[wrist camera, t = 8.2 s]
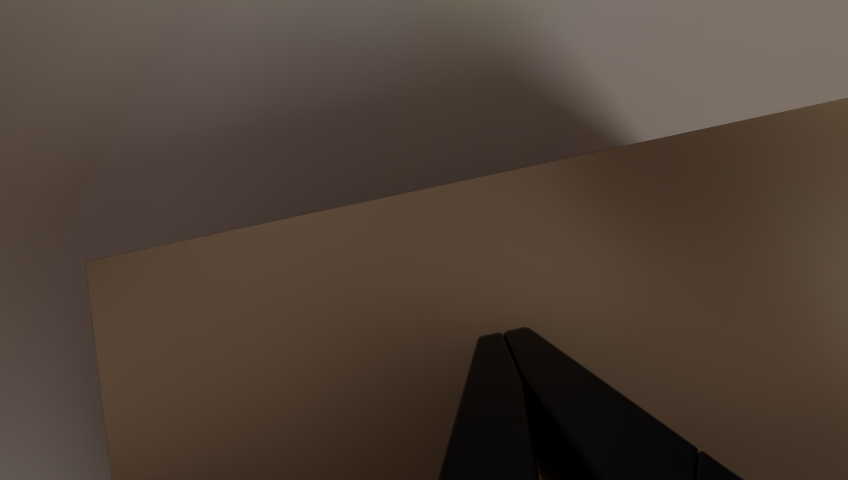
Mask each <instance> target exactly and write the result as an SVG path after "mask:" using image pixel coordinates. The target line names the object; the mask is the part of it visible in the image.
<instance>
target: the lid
mask: <svg viewBox="0 0 848 480" xmlns="http://www.w3.org/2000/svg"><path fill="white" fill-rule="evenodd" d="M85 266H86V274H87V283H88V291H89V299H90V307H91V316H92V324H93V332H94V340H95V348H96V357H97V365H98V373H99V381H100V390H101V398H102V406H103V414H104V423H105V431H106V439H107V447H108V455H109V464H110V472H111V480H437V479H438V476H439V472H440V469H441V465H442V462H443V458H444V455H445V451H446V448H447V444H448V441H449V437H450V434H451V430H452V427H453V423H454V420H455V416H456V413H457V409H458V406H459V402H460V399H461V395H462V392H463V388H464V385H465V381H466V378H467V374H468V371H469V367H470V364H471V360H472V357H473V353H474V350H475V346H476V343H477V340H478V338H479V337H480V336H483V335H488V334H493V333H497V332H500V333H502V334H503V335H504V333H505V332H506V331H507V330H512V329H516V328H521V327H528V328H530V329H532V330H533V331H535V332H536V333H537V334H539V335H540V336H542V337H543V338H544V339H546V340H547V341H549V342H550V343H551V344H553V345H554V346H556V347H557V348H558V349H560V350H561V351H563V352H564V353H565V354H567V355H568V356H570V357H571V358H572V359H574V360H575V361H577V362H578V363H579V364H581V365H582V366H584V367H585V368H586V369H588V370H589V371H591V372H592V373H593V374H595V375H596V376H598V377H599V378H600V379H602V380H603V381H605V382H606V383H607V384H609V385H610V386H612V387H613V388H614V389H616V390H617V391H619V392H620V393H622V394H623V395H624V396H626V397H627V398H629V399H630V400H631V401H633V402H634V403H636V404H637V405H638V406H640V407H641V408H643V409H644V410H645V411H647V412H648V413H650V414H651V415H652V416H654V417H655V418H657V419H658V420H659V421H661V422H662V423H664V424H665V425H666V426H668V427H669V428H671V429H672V430H673V431H675V432H676V433H678V434H679V435H680V436H682V437H683V438H685V439H686V440H687V441H689V442H690V443H692V444H693V445H694V446H696V447H697V448H698V453H699V452H700V451H704V452H706V453H707V454H708V455H710V456H711V457H713V458H714V459H715V460H717V461H718V462H720V463H721V464H722V465H724V466H725V467H727V468H728V469H729V470H731V471H732V472H734V473H735V474H737V475H738V476H740V477H741V478H743V479H744V480H848V98H845V99H841V100H836V101H831V102H827V103H822V104H817V105H813V106H808V107H803V108H799V109H794V110H789V111H785V112H780V113H775V114H771V115H766V116H761V117H757V118H752V119H747V120H743V121H738V122H733V123H729V124H724V125H719V126H715V127H710V128H706V129H701V130H696V131H692V132H687V133H682V134H678V135H673V136H668V137H664V138H659V139H654V140H650V141H645V142H640V143H636V144H631V145H626V146H622V147H617V148H612V149H608V150H603V151H598V152H594V153H589V154H584V155H580V156H575V157H571V158H566V159H561V160H557V161H552V162H547V163H543V164H538V165H533V166H529V167H524V168H519V169H515V170H510V171H505V172H501V173H496V174H491V175H487V176H482V177H477V178H473V179H468V180H463V181H459V182H454V183H450V184H445V185H440V186H436V187H431V188H426V189H422V190H417V191H412V192H408V193H403V194H398V195H394V196H389V197H384V198H380V199H375V200H370V201H366V202H361V203H356V204H352V205H347V206H342V207H338V208H333V209H329V210H324V211H319V212H315V213H310V214H305V215H301V216H296V217H291V218H287V219H282V220H277V221H273V222H268V223H263V224H259V225H254V226H249V227H245V228H240V229H235V230H231V231H226V232H221V233H217V234H212V235H207V236H203V237H198V238H194V239H189V240H184V241H180V242H175V243H170V244H166V245H161V246H156V247H152V248H147V249H142V250H138V251H133V252H128V253H124V254H119V255H114V256H110V257H105V258H100V259H96V260H91V261H86V262H85ZM538 475H539V480H542V477H541V475H540V473H539V470H538Z"/></svg>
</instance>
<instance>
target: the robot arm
mask: <svg viewBox="0 0 848 480" xmlns="http://www.w3.org/2000/svg"><path fill="white" fill-rule="evenodd" d="M538 470H539V473H540V475H541V477H542V480H744V479H743V478H741V477H740V476H738V475H737V474H735V473H734V472H732V471H731V470H729V469H728V468H727V467H725V466H724V465H722V464H721V463H720V462H718V461H717V460H715V459H714V458H713V457H711V456H710V455H708V454H707V453H706V452H704V451H700V452H699V453H698V448H697V447H696V446H694V445H693V444H692V443H690V442H689V441H687V440H686V439H685V438H683V437H682V436H680V435H679V434H678V433H676V432H675V431H673V430H672V429H671V428H669V427H668V426H666V425H665V424H664V423H662V422H661V421H659V420H658V419H657V418H655V417H654V416H652V415H651V414H650V413H648V412H647V411H645V410H644V409H643V408H641V407H640V406H638V405H637V404H636V403H634V402H633V401H631V400H630V399H629V398H627V397H626V396H624V395H623V394H622V393H620V392H619V391H617V390H616V389H614V388H613V387H612V386H610V385H609V384H607V383H606V382H605V381H603V380H602V379H600V378H599V377H598V376H596V375H595V374H593V373H592V372H591V371H589V370H588V369H586V368H585V367H584V366H582V365H581V364H579V363H578V362H577V361H575V360H574V359H572V358H571V357H570V356H568V355H567V354H565V353H564V352H563V351H561V350H560V349H558V348H557V347H556V346H554V345H553V344H551V343H550V342H549V341H547V340H546V339H544V338H543V337H542V336H540V335H539V334H537V333H536V332H535V331H533V330H532V329H530V328H528V327H521V328H516V329H512V330H507V331H506V332H505V333H504V335H503V334H502V333H500V332H497V333H493V334H488V335H483V336H480V337H479V338H478V340H477V343H476V346H475V350H474V353H473V357H472V360H471V364H470V367H469V371H468V374H467V378H466V381H465V385H464V388H463V392H462V395H461V399H460V402H459V406H458V409H457V413H456V416H455V420H454V423H453V427H452V430H451V434H450V437H449V441H448V444H447V448H446V451H445V455H444V458H443V462H442V465H441V469H440V472H439V476H438V479H437V480H539V475H538Z"/></svg>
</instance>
